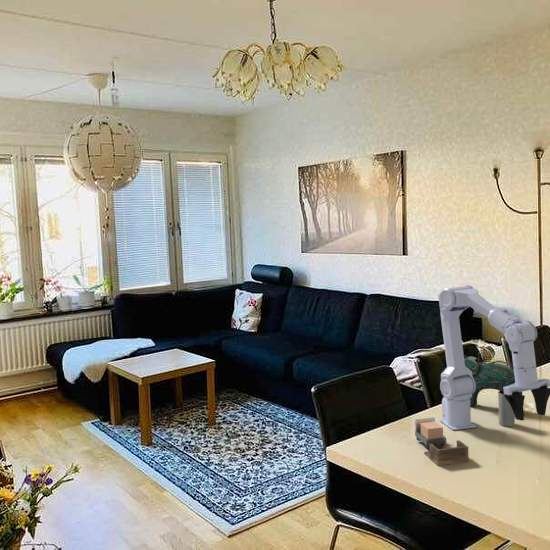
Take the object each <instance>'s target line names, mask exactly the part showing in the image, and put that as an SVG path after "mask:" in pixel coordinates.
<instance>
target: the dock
mask: <svg viewBox="0 0 550 550" xmlns="http://www.w3.org/2000/svg"><path fill="white" fill-rule="evenodd" d="M428 449H429V450H428V451H423V454H424V455H425V457H427V458H428V459H429V460H430V461H432V463H434V464H435V465H436V466H438V467H439V466H445V465H446V466H447V465H452V464H462V463H468V462H469V461H470V458H469V446H468V445H466V444H465V443H463V442H462V441H461V440H459V439H458V440H457V439H456V446H455V447H446V448H441V449H439V448H438V447H437V446H435V445H433V444H429V448H428Z"/></svg>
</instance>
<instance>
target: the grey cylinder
mask: <svg viewBox="0 0 550 550" xmlns="http://www.w3.org/2000/svg"><path fill="white" fill-rule="evenodd" d="M497 393H498V397H497V398H498V424H499V425H500V426H502V427H505V428H511V427H514V426H515V420H516V417H515V415H514V412H513V410H512V408H511V406H510V404H509V402H508V401H507V399H506V398H505V397H504V390H501V391H499V390H498V391H497Z"/></svg>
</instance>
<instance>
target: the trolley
mask: <svg viewBox="0 0 550 550" xmlns="http://www.w3.org/2000/svg"><path fill="white" fill-rule="evenodd" d="M414 436H415V438H416V441H419V442H422V443H423V444H424V447H425V448H426V449H429V444H433V445H434V446H435V445H439V446H440V447H442V448H443V447H445V446H446V444H447V437H446V436H445V435H444V427H443V426H442V425H440V424H439V423H438V422H437V421H436V418H435V417H425V418H424V417H423V418H417V419H414Z"/></svg>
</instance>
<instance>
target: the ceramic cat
mask: <svg viewBox="0 0 550 550" xmlns="http://www.w3.org/2000/svg"><path fill="white" fill-rule="evenodd" d="M481 352H485V353H487V354H488V355H490V352H489V351H488V350H486V349H481V350H479V351H478V354H477V355H478V358H477V357H475V356H467V355H466V354H464V362H465V367H467V368H468V369H469V370H471V371H472V376H473V379H474V381H475V384H476V389H475V392H474V393H473V394H472V397H471V398H470V406H472V407H471V408H474V407H473V406H475V407H476V406H477V405H478V397H479V396H478V395H479V394H480V392H481V391H483V390H497V391H498V392H499V391H501V390H504V389H503V387H506V386H509V385H511V384H514V383H515V376H514V368H513V364H512V363H509V362H508V361H507V362H506V361H503V360H494V361H490V362H484V361H482V360H481V359H480V353H481ZM502 363H503V364H502ZM519 394H520V395H523V392H519ZM476 404H477V405H476Z"/></svg>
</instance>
